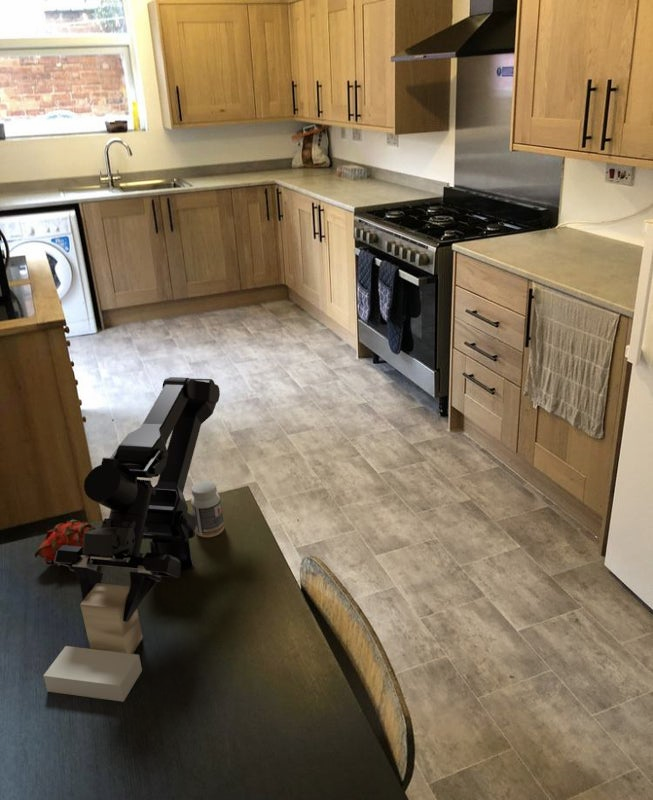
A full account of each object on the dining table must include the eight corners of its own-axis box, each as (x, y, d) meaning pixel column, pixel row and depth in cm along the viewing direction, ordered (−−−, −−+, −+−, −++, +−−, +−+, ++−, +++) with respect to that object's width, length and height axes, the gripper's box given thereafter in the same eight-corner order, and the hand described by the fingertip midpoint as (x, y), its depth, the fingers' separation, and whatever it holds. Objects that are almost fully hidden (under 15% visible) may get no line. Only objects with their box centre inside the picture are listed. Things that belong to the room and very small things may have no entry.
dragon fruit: (111, 558, 134) (48, 585, 130) (97, 520, 137) (35, 545, 133) (104, 543, 126) (36, 571, 123) (89, 503, 130) (23, 529, 126)
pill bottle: (229, 524, 140) (224, 481, 136) (216, 540, 135) (210, 496, 131) (203, 520, 141) (197, 477, 137) (190, 536, 136) (183, 492, 133)
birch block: (108, 633, 112) (97, 582, 108) (143, 637, 111) (133, 585, 107) (92, 656, 107) (80, 604, 103) (128, 661, 106) (117, 608, 102)
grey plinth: (69, 661, 107) (65, 646, 106) (142, 670, 104) (139, 654, 103) (47, 691, 101) (43, 675, 100) (123, 701, 99) (120, 685, 98)
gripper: (47, 500, 105) (20, 607, 100) (162, 509, 102) (141, 621, 96) (84, 517, 115) (61, 615, 110) (190, 525, 112) (171, 627, 106)
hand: (106, 619), depth 105 cm, fingers closed on birch block, 6 cm apart
